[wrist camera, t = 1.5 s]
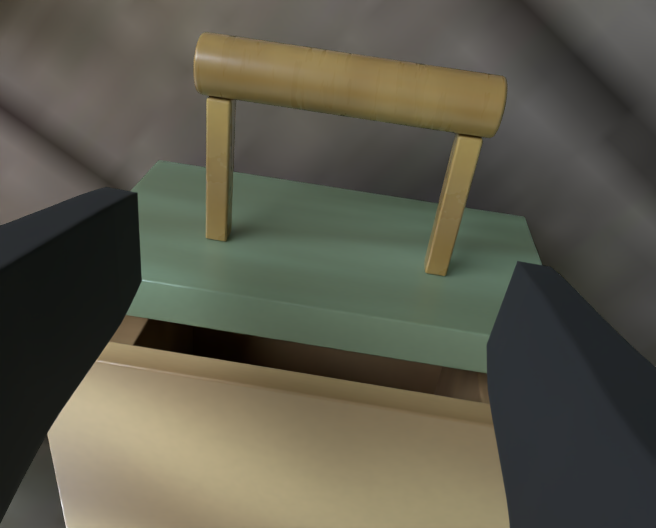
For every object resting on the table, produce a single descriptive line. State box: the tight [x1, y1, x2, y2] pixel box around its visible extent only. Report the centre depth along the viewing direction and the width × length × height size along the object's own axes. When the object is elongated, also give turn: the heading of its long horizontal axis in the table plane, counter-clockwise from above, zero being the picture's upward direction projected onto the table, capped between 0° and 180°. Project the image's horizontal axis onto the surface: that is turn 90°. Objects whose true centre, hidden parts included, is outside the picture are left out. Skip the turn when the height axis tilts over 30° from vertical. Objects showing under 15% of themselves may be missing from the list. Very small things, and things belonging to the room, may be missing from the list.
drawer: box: [110, 32, 542, 404], centre depth 19 cm, size 18×12×7 cm
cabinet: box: [47, 341, 510, 528], centre depth 22 cm, size 14×14×9 cm
